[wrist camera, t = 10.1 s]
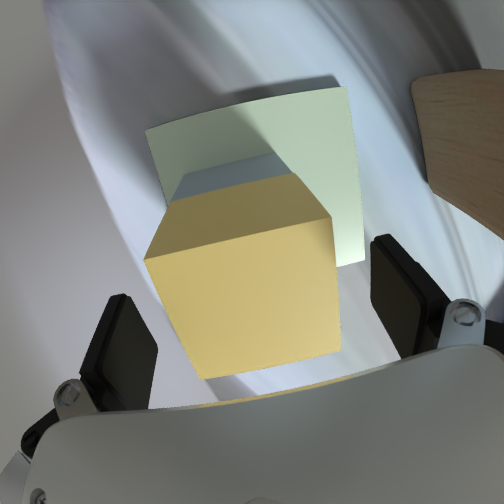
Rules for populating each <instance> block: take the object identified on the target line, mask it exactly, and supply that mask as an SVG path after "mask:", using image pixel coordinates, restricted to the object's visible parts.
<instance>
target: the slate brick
mask: <svg viewBox="0 0 504 504" xmlns="http://www.w3.org/2000/svg"><path fill="white" fill-rule="evenodd" d="M290 173H293V172H292V171H291V170H290V169H289V168H288V166H287V165H286V164H285V163H284V162H283V161H282V159H281V158H280V157H279V156H278V155H277V154H276V152H275V153H270V154H265V155H261V156H256V157H252V158H248V159H243V160H239V161H235V162H231V163H227V164H223V165H219V166H215V167H211V168H207V169H203V170H199V171H196V172H192V173H188V174H185V175H184V176H183V178H182V180H181V182H180V183H179V185H178V187H177V189H176V191H175V193H174V195H173V197H172V199H171V201H170V202H172V201H175V200H179V199H183V198H187V197H190V196H194V195H198V194H202V193H206V192H210V191H214V190H218V189H222V188H227V187H231V186H235V185H239V184H244V183H248V182H252V181H257V180H261V179H266V178H271V177H275V176H280V175H285V174H290ZM169 204H170V203H169Z"/></svg>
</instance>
